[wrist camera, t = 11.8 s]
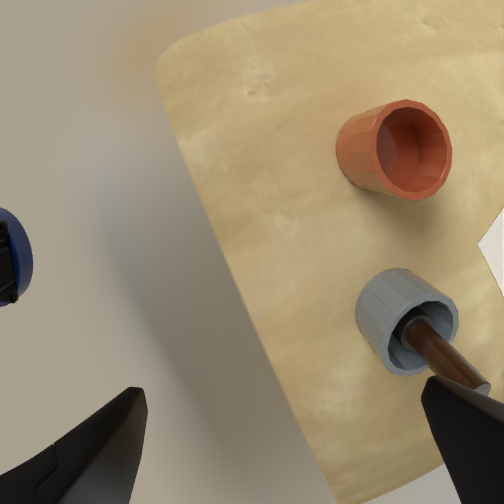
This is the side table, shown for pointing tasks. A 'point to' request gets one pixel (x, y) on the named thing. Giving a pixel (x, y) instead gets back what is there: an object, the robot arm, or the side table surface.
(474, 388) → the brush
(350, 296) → the side table surface
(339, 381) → the side table surface
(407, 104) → the holder
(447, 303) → the cup
